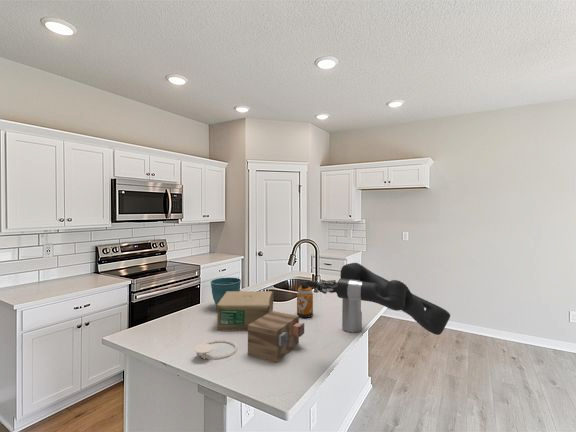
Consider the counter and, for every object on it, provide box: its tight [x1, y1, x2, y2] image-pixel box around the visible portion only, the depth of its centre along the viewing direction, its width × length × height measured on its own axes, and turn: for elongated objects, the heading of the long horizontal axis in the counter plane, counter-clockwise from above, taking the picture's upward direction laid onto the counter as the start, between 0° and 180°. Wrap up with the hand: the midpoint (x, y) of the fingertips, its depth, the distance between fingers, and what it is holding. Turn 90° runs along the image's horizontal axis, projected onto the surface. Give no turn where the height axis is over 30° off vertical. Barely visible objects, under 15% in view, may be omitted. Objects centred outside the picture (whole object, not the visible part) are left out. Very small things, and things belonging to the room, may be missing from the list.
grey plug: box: [279, 332, 288, 347], centre depth 132 cm, size 4×16×4 cm, turn 62°
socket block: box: [247, 310, 300, 363], centre depth 138 cm, size 20×14×12 cm
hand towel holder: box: [193, 339, 238, 360], centre depth 135 cm, size 17×4×20 cm
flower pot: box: [210, 276, 242, 310], centre depth 191 cm, size 18×18×17 cm
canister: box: [296, 279, 314, 319], centre depth 179 cm, size 9×11×20 cm
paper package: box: [216, 290, 274, 331], centre depth 169 cm, size 27×26×14 cm
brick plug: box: [292, 322, 305, 338], centre depth 142 cm, size 4×16×4 cm, turn 62°
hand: (309, 284), depth 130 cm, fingers closed
